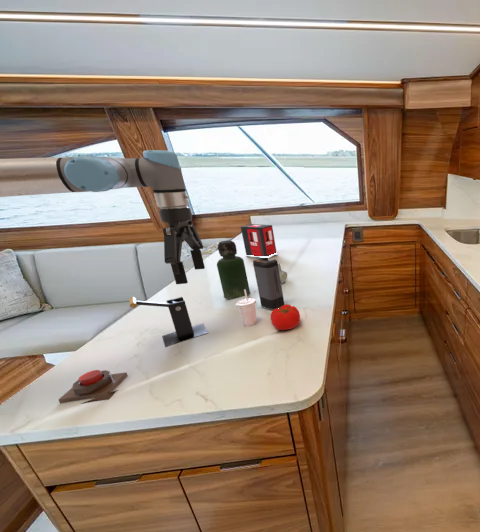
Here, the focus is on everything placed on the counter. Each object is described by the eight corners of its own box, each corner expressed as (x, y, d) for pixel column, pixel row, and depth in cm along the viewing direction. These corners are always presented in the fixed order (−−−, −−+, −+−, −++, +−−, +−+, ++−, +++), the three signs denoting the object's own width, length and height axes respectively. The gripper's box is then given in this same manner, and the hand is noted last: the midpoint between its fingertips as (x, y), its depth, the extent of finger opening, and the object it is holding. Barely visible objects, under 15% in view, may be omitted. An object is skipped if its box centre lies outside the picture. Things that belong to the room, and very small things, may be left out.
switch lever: (128, 309, 88) (131, 301, 87) (128, 302, 92) (130, 295, 92) (182, 312, 97) (184, 305, 97) (179, 306, 101) (181, 300, 101)
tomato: (276, 335, 101) (273, 318, 99) (269, 322, 110) (266, 306, 108) (304, 327, 106) (302, 310, 104) (296, 315, 115) (294, 300, 113)
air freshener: (273, 278, 154) (270, 260, 151) (289, 278, 154) (286, 260, 150) (263, 286, 144) (260, 267, 140) (280, 286, 143) (277, 267, 140)
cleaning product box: (276, 255, 196) (272, 225, 189) (267, 259, 188) (261, 227, 181) (256, 253, 201) (251, 224, 194) (246, 257, 193) (240, 226, 186)
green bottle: (222, 295, 135) (209, 242, 127) (246, 289, 142) (235, 237, 134) (227, 302, 128) (214, 246, 120) (253, 295, 134) (242, 241, 126)
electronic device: (286, 305, 123) (279, 259, 117) (274, 311, 119) (265, 264, 112) (271, 301, 128) (264, 256, 122) (259, 306, 123) (250, 260, 117)
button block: (61, 406, 73) (54, 393, 71) (86, 384, 80) (81, 372, 79) (108, 399, 75) (103, 386, 73) (129, 378, 82) (124, 366, 81)
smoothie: (264, 323, 110) (257, 288, 105) (249, 331, 104) (241, 295, 100) (252, 319, 112) (245, 285, 108) (237, 327, 107) (229, 292, 102)
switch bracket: (166, 350, 95) (153, 311, 90) (163, 338, 101) (151, 302, 97) (209, 335, 102) (199, 299, 98) (203, 326, 109) (194, 291, 104)
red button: (76, 387, 74) (74, 381, 73) (89, 376, 78) (86, 371, 77) (95, 384, 75) (93, 378, 74) (106, 374, 79) (104, 368, 78)
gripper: (168, 212, 75) (188, 289, 82) (204, 202, 98) (217, 262, 105) (133, 214, 74) (157, 292, 81) (178, 203, 97) (194, 264, 104)
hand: (191, 275), depth 93 cm, fingers open, 13 cm apart
